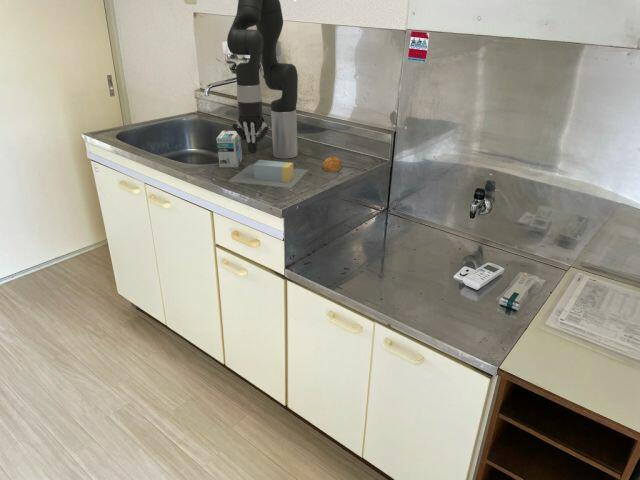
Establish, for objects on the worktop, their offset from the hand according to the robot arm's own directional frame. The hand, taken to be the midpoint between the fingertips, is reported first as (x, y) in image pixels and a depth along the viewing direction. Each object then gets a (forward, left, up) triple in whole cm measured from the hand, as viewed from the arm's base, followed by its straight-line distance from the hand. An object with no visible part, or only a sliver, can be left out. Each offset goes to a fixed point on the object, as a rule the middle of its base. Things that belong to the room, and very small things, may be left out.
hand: (253, 153), depth 157 cm
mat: (-2, +4, -8) cm, 10 cm away
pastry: (-15, +23, -9) cm, 29 cm away
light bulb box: (-12, -15, -9) cm, 21 cm away
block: (0, +1, -6) cm, 6 cm away
